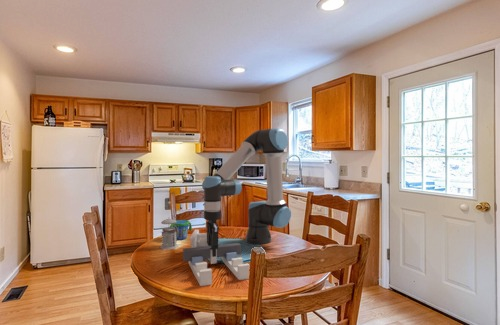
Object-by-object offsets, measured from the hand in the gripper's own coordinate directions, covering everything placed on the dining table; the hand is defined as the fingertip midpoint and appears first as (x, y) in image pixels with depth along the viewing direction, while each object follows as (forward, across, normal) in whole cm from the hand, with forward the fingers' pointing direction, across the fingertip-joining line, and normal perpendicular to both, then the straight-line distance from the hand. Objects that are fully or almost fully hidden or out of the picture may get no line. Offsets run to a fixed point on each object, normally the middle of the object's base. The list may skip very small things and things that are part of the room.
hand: (212, 261), depth 136 cm
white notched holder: (+1, +8, 0) cm, 8 cm away
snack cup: (+2, -51, -7) cm, 52 cm away
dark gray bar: (-2, 0, 0) cm, 2 cm away
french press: (+2, -35, -15) cm, 38 cm away
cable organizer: (+2, -16, -1) cm, 16 cm away
